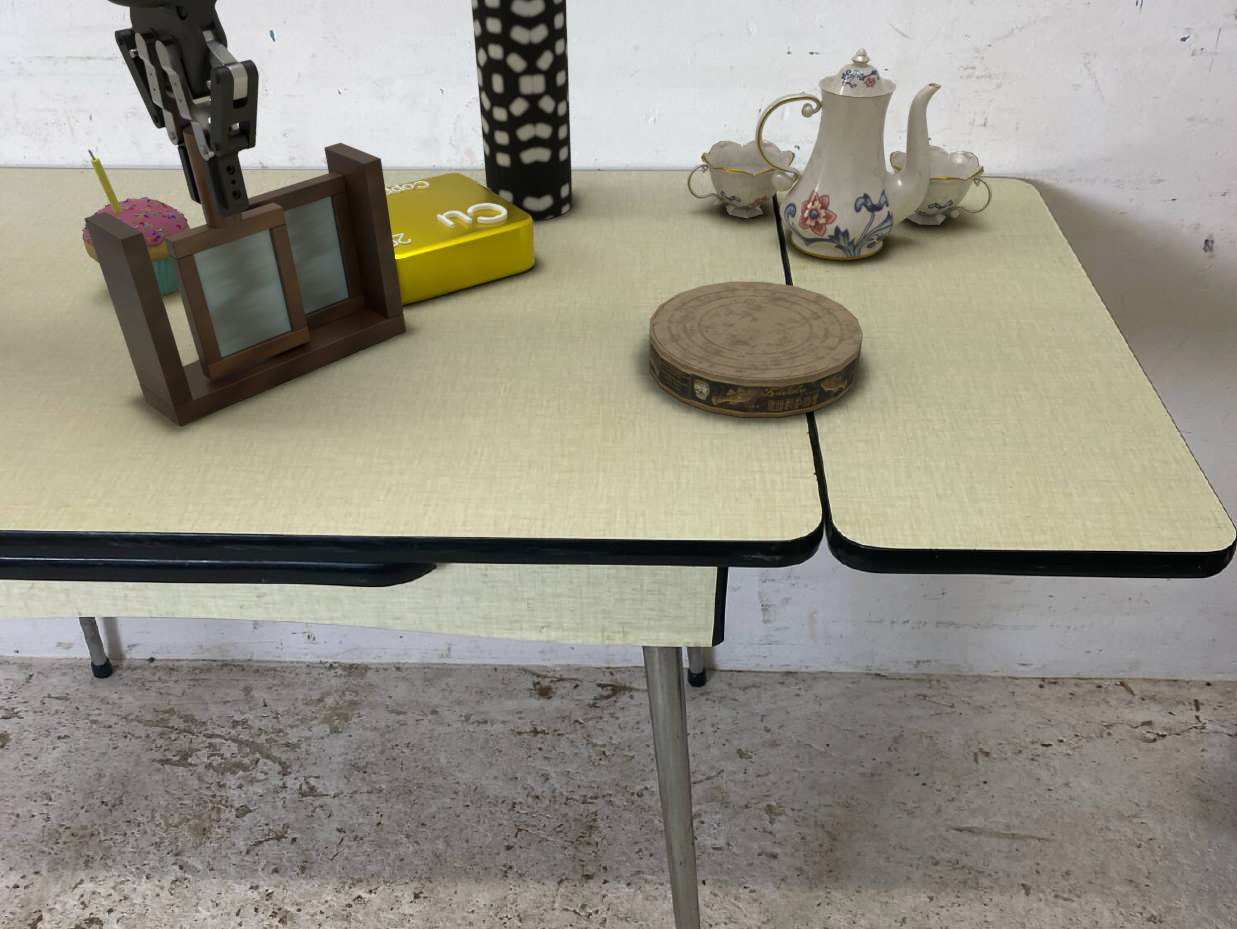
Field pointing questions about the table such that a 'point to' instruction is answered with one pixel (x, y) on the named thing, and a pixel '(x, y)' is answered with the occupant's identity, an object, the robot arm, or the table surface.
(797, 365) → the brown flat banded disc
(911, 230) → the table surface
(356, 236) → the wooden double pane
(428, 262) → the element tile
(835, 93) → the chinaware
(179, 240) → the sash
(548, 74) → the spotted tube
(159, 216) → the cupcake
